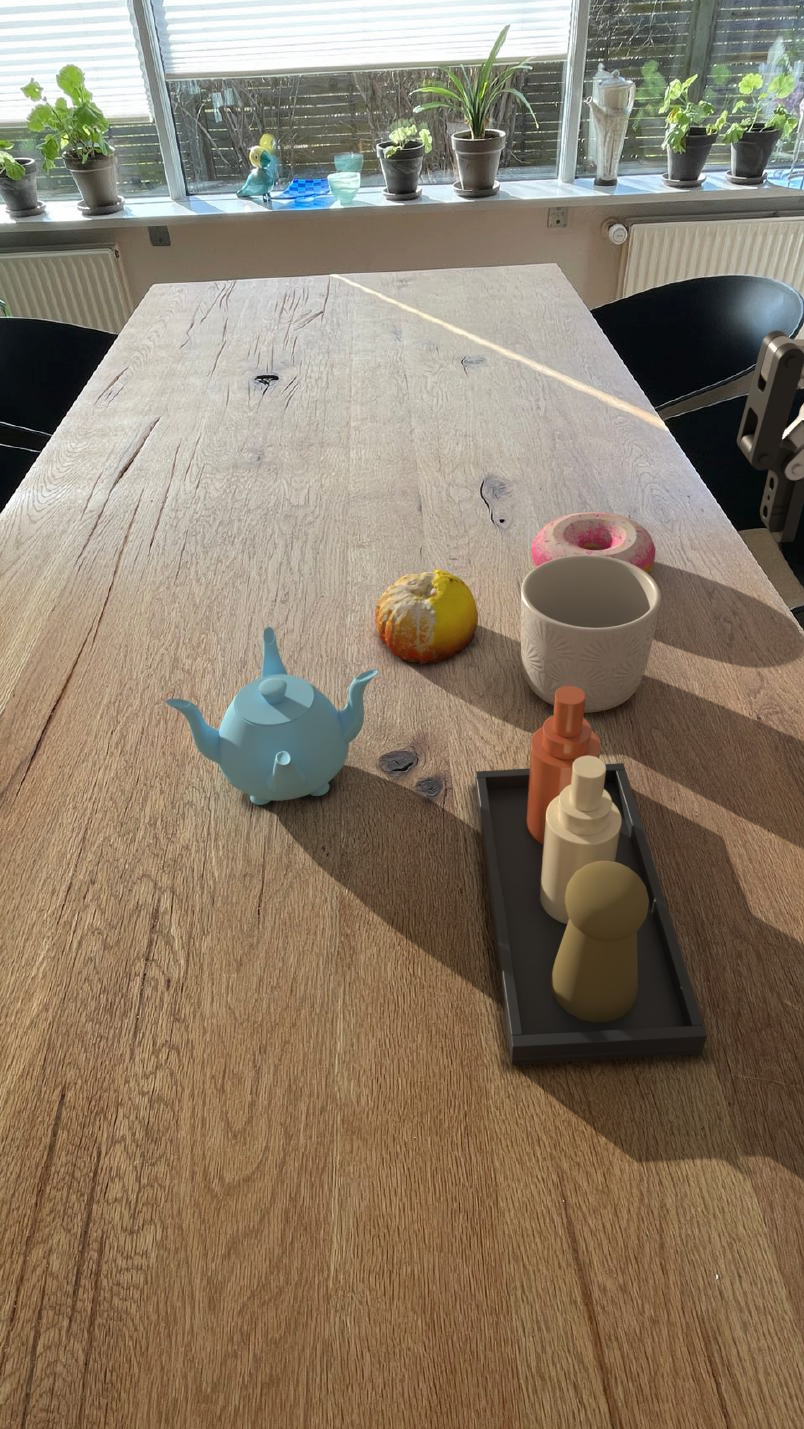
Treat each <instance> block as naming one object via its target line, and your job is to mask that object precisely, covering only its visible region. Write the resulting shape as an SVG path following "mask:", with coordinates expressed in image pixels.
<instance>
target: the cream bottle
mask: <svg viewBox="0 0 804 1429" xmlns="http://www.w3.org/2000/svg"><path fill="white" fill-rule="evenodd" d="M605 764H606V763H605V762H604V761H603V760H602V759H600V757H599V758H597V757H594V756H582V757H579V758H577V759H576V760H575V761H574V763H573V767H572V777H571V785H569V786H567V787H565V788H564V789H563V790H562V792H561V793H560V795H559V796H557V797H556V798H555V799H553V800H552V802H551V803H550V804H549V806H548V808H547V811H546V820H545V832H544V845H543V858H542V871H541V883H540V901H541V904H542V906H543V908H544V910H545V911H546V912H547V913H548V914H549V915H550V916H551V917H552V918H554V919H555V920H557V921H559V922H561V923H564V924H568V921H569V916H568V913H567V910H566V904H565V893H566V889H567V884H568V883H569V881H570V879H571V878H572V876H573V875H574V873H575V872H576V871H578V870H579V869H581V868H582V867H583V866H585V865H587V864H590V863H593V862H596V861H612V862H616V856H617V849H618V843H619V836H620V830H621V823H622V819H621V814H620V812H619V810H618V808H617V807H616V805H615V804H614V803H613V802H612V799H611V797H610V795H609V793H608V792H607V791H606V790H605V789H604V782H605V775H606V765H605Z"/></svg>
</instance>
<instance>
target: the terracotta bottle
mask: <svg viewBox="0 0 804 1429" xmlns="http://www.w3.org/2000/svg"><path fill="white" fill-rule="evenodd" d="M585 698H586V695H585V693H584V691H583V690H581V689H580V688H578V687H575V686H563V687H561V688H559V689H558V690H557V691H556V692H555V699H554V706H553V714H552V715H550V716H548V718H546V719H545V720H544V722H543V724H542V726H541V727H540V728H538V729H537V730H536V731H535V732H534V734H533V735H532V737H531V741H530V756H529V768H530V769H529V786H528V803H527V820H526V825H527V829H528V832H529V833H530V835H531V836H532V837H533V838H534V839H535V840H536V841H537V842H539V843H540V844H542V845H544V832H545V820H546V811H547V808H548V806H549V804H550V803H551V802H552V800H553V799H555V798H556V797H557V796H559V795H560V793H561V792H562V790H563V789H564V788H565V787H567V786H569V785H571V777H572V767H573V763H574V761H575V760H576V759H577V758H579V757H582V756H594V757H597V758H599V759H600V757H601V748H602V747H601V741H600V739H599V738H598V735H597V734H596V733H595V731H593V730H592V729H593V728H592V726H591V724H590V722H589V720H587V719H586V718H585V713H584V707H585Z"/></svg>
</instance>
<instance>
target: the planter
mask: <svg viewBox="0 0 804 1429" xmlns="http://www.w3.org/2000/svg"><path fill="white" fill-rule="evenodd" d="M661 601H662V593H661V590H660V587H659V585H658V584H657V582H656V581H655V579H654V578H653V577H652V575H650V574H649V573H648V574H647V573H646V572H645V571H643V570H642V569H640V568H638V567H637V566H635V565H632V564H630V563H628V562H625V561H622V560H619V559H615V558H611V557H605V556H597V555H574V556H566V557H561V558H557V559H553V560H550V561H548V562H545V563H543V564H541V565H539V566H537V567H535V568H533V569H532V570H530V571H529V573H528V574H527V575H526V576H525V578H524V579H523V581H522V584H521V587H520V654H521V663H522V670H523V674H524V677H525V680H526V682H527V684H528V686H529V688H530V689H531V690H532V692H533V693H534V694H535V695H536V696H538V697H539V698H540V699H541V700H542V701H544V702H545V703H547V704H549V705H551V706H552V707H554V699H555V692H556V691H557V690H558V689H559V688H561V687H563V686H575V687H578V688H580V689H581V690H583V691H584V693H585V695H586V698H585V707H584V714H585V713H586V714H589V713H597V712H598V713H599V712H604V711H607V710H611V709H614V708H616V707H619V706H620V705H621V704H624V703H625V702H627V700H629V699H630V698H631V697H632V696H633V695H634V694H635V693H636V691H637V690H638V688H639V687H640V684H641V683H642V680H643V678H644V675H645V672H646V668H647V665H648V663H649V658H650V654H651V649H652V644H653V640H654V635H655V630H656V627H657V626H656V625H657V619H658V614H659V609H660V605H661Z"/></svg>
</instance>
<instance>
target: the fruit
mask: <svg viewBox="0 0 804 1429" xmlns="http://www.w3.org/2000/svg"><path fill="white" fill-rule="evenodd" d="M374 621H375V627H376V631H377V635H378V637H379V639H380V641H381V642H382V643H383V644H384V645H385V646H386V647H387V648H388V650H389V651H390V653H392V654H393V655H394V656H396V657H398V658H399V659H400V660H402V661H405V662H409V663H416V664H418V665H425V664H428V663H441V662H446V660H451V659H452V658H453V657H455V656H456V655H459V654H461V652H462V651H463V650H464V649H466V648H467V647H468V646H469V644H470V643H471V642H472V641H473V639H474V636H475V633H476V631H477V628H478V622H479V612H478V608H477V603H476V600H475V597H474V595H473V593H472V590H471V589H470V587H469V586H468V585H467V584H466V583H465V581H463V579H461V578H460V577H458V576H456V575H454V574H453V573H451V572H448V571H445V570H442V569H439V568H434V569H433V570H432V571H426V572H425V571H424V572H421V573H407V574H404V575H403V576H402V577H399V578H398V579H397V580H396V582H394V584H391V585H389V586H388V587H387V588H386V590H385V591H384V592H383V593H382V595H381V597H380V598H378V599H377V602H376V605H375V610H374Z"/></svg>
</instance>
